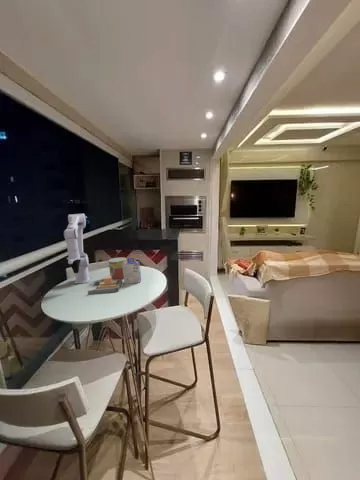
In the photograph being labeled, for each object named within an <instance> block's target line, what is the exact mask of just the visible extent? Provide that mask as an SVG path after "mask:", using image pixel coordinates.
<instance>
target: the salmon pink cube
mask: <svg viewBox="0 0 360 480" xmlns="http://www.w3.org/2000/svg"><path fill="white" fill-rule="evenodd" d="M103 281H104V286H105V285H112V276H110V275H108V276H104V277H103Z"/></svg>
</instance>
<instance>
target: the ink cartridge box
mask: <svg viewBox="0 0 360 480" xmlns="http://www.w3.org/2000/svg"><path fill="white" fill-rule="evenodd" d="M122 266H123V275H124V279H123V283H124V284H126V285H127V284H134V283H135V284H136V283H137V284H138V283H141V281H142V274H141V264H140V260H138V261H137V260H135V258H133V257H129V258H127V262H124V263H123V265H122Z"/></svg>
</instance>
